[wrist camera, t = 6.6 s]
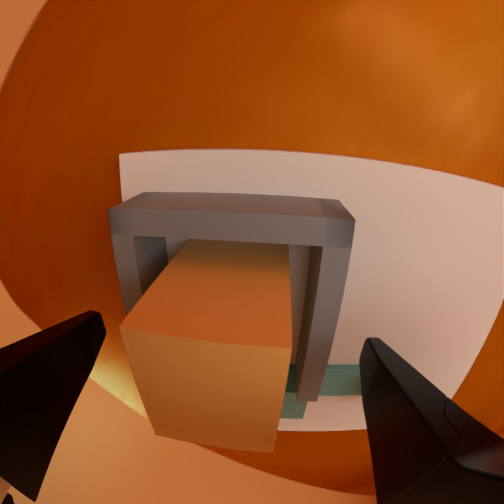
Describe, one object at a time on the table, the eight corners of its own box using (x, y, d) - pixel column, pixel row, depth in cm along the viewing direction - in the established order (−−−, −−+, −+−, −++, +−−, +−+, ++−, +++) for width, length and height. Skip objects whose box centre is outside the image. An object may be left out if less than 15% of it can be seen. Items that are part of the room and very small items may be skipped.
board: (433, 408, 15) (437, 418, 14) (170, 403, 16) (166, 415, 15) (519, 191, 9) (531, 196, 8) (131, 152, 10) (119, 154, 10)
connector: (268, 425, 15) (260, 507, 10) (207, 419, 15) (187, 496, 10) (288, 244, 10) (292, 348, 5) (190, 237, 11) (118, 326, 6)
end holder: (313, 359, 12) (316, 401, 10) (163, 345, 13) (144, 381, 11) (338, 199, 9) (355, 220, 7) (143, 192, 10) (107, 209, 8)
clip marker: (379, 389, 13) (386, 415, 11) (286, 390, 13) (285, 418, 12) (391, 363, 12) (400, 389, 10) (290, 363, 12) (290, 392, 11)
